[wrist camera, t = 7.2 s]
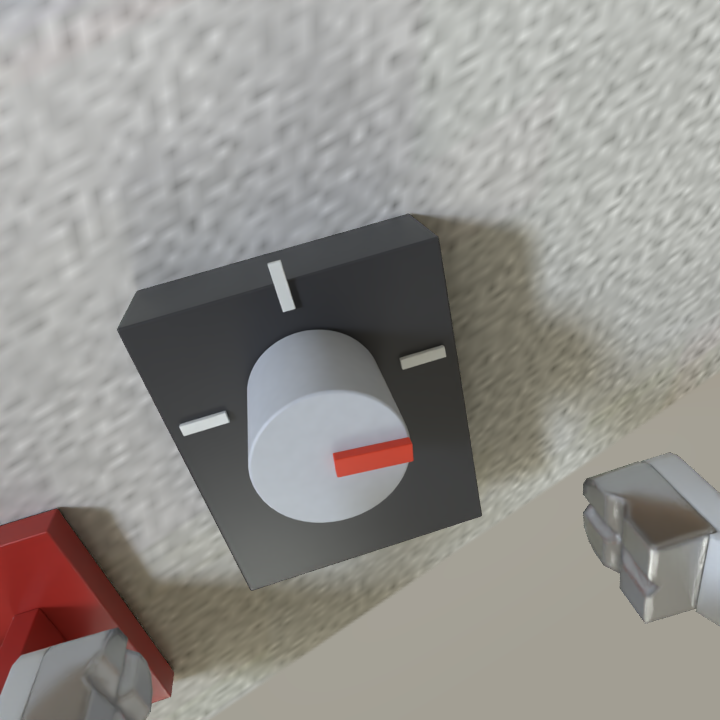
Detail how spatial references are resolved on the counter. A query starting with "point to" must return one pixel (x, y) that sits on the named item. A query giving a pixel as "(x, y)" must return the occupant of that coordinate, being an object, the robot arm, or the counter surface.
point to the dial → (323, 428)
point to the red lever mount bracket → (61, 597)
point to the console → (283, 318)
